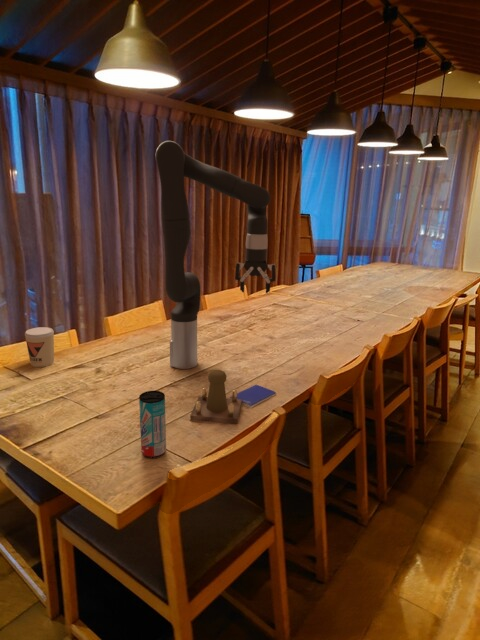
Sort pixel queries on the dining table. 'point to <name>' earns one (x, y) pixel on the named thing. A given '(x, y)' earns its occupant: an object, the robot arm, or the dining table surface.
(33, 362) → the coffee cup
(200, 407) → the walnut stand
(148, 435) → the beverage can
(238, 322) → the dining table surface
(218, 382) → the cork
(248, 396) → the hard drive
